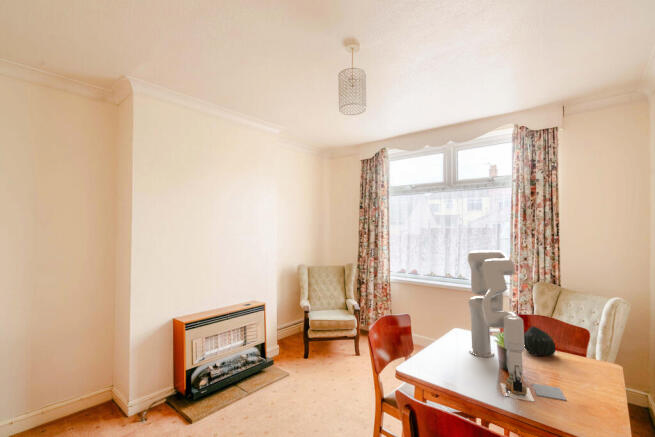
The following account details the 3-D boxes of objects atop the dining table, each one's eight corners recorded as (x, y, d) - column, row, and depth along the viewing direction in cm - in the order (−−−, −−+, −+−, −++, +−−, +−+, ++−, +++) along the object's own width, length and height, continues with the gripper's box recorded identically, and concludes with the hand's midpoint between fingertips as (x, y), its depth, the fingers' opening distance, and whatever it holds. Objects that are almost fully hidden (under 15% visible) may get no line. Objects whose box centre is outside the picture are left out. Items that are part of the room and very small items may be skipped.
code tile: (500, 383, 136) (500, 382, 136) (528, 388, 131) (528, 387, 131) (503, 396, 126) (503, 395, 126) (534, 401, 121) (534, 401, 121)
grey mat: (532, 384, 135) (532, 383, 135) (559, 388, 130) (559, 387, 130) (537, 395, 125) (537, 394, 125) (566, 400, 121) (566, 399, 121)
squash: (559, 352, 154) (552, 324, 164) (525, 349, 161) (520, 322, 170) (555, 362, 163) (549, 335, 173) (523, 359, 170) (519, 333, 179)
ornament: (530, 395, 125) (529, 371, 125) (517, 397, 124) (516, 373, 125) (515, 385, 133) (514, 363, 133) (503, 387, 132) (502, 364, 132)
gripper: (501, 337, 139) (503, 374, 138) (506, 351, 123) (508, 394, 122) (520, 339, 136) (522, 377, 135) (528, 354, 120) (530, 398, 119)
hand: (516, 385), depth 129 cm, fingers closed on ornament, 8 cm apart
